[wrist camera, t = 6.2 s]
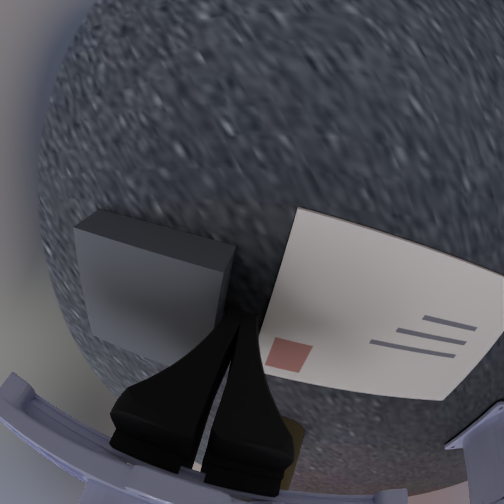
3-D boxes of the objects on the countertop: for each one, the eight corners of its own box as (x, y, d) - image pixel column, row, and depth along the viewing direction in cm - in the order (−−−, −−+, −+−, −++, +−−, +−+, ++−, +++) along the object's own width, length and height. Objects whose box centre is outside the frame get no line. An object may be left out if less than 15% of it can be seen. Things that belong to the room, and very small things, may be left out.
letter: (530, 286, 10) (531, 288, 10) (441, 398, 16) (442, 400, 15) (297, 206, 11) (297, 208, 11) (248, 366, 16) (247, 369, 16)
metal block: (238, 241, 13) (223, 272, 11) (217, 345, 17) (205, 378, 14) (104, 205, 13) (73, 227, 11) (112, 308, 17) (92, 335, 15)
